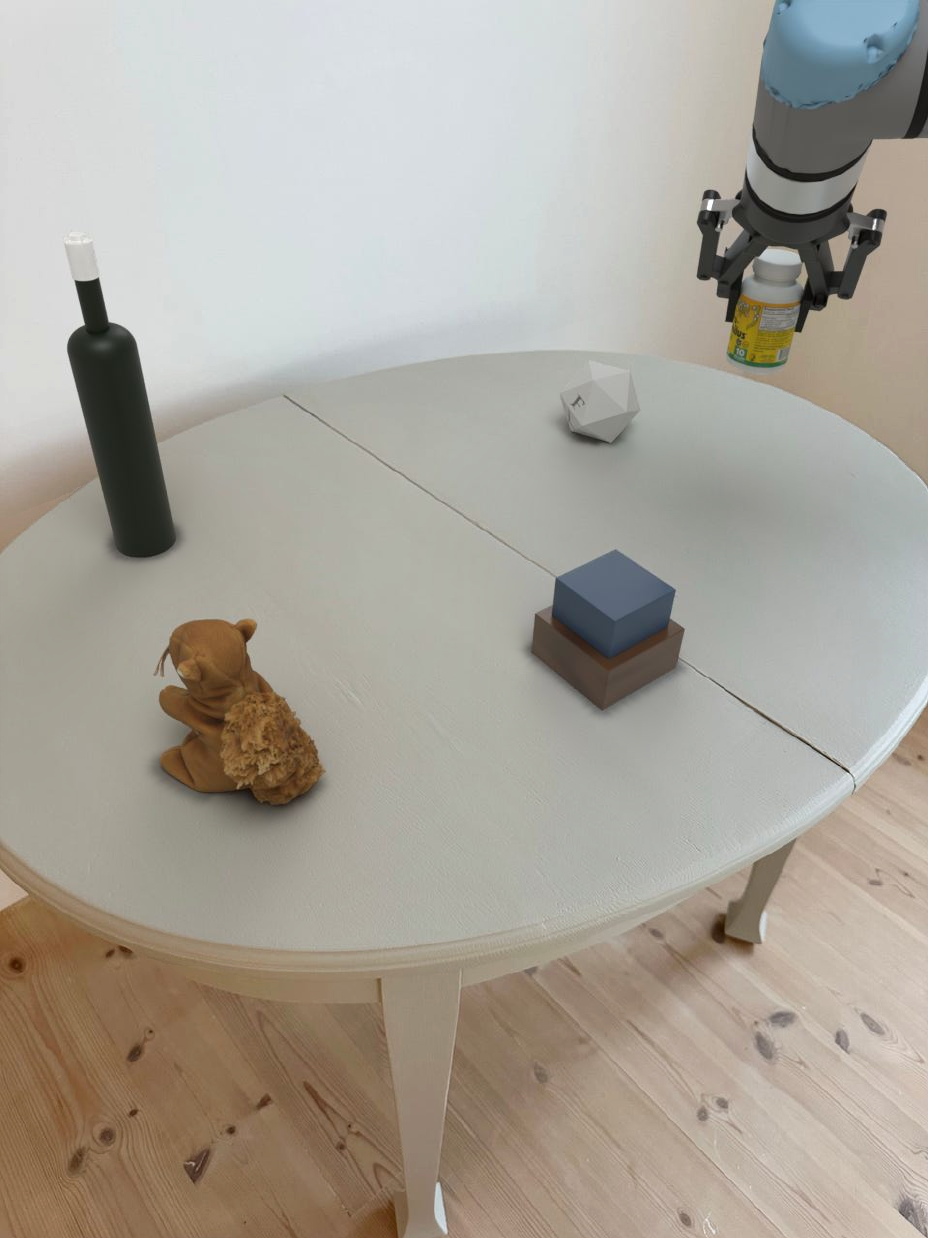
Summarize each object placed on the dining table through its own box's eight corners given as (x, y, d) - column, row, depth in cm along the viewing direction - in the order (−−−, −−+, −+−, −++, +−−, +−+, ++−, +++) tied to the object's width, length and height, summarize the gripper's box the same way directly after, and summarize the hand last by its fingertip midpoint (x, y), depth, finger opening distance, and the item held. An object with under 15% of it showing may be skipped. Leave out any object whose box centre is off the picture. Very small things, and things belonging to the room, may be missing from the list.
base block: (676, 667, 83) (685, 628, 80) (601, 711, 79) (608, 671, 76) (604, 614, 89) (610, 575, 86) (530, 652, 84) (534, 613, 81)
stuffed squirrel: (251, 691, 80) (230, 564, 71) (364, 783, 72) (355, 654, 64) (145, 754, 74) (109, 624, 66) (256, 862, 67) (231, 731, 58)
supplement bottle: (791, 377, 85) (819, 268, 79) (731, 375, 85) (755, 266, 79) (777, 351, 89) (803, 246, 83) (719, 349, 89) (741, 244, 83)
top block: (668, 626, 80) (676, 589, 78) (608, 659, 77) (615, 621, 75) (610, 585, 85) (616, 548, 82) (551, 615, 81) (555, 577, 79)
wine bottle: (131, 565, 93) (55, 251, 73) (106, 538, 96) (27, 231, 77) (186, 544, 95) (126, 237, 76) (160, 518, 99) (96, 218, 80)
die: (558, 416, 120) (541, 375, 110) (619, 377, 119) (607, 332, 109) (592, 467, 116) (578, 428, 107) (656, 426, 115) (647, 384, 106)
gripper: (958, 128, 63) (879, 288, 86) (679, 101, 67) (674, 260, 90) (935, 235, 63) (862, 368, 85) (655, 201, 67) (656, 336, 89)
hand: (766, 312), depth 87 cm, fingers closed on supplement bottle, 5 cm apart
